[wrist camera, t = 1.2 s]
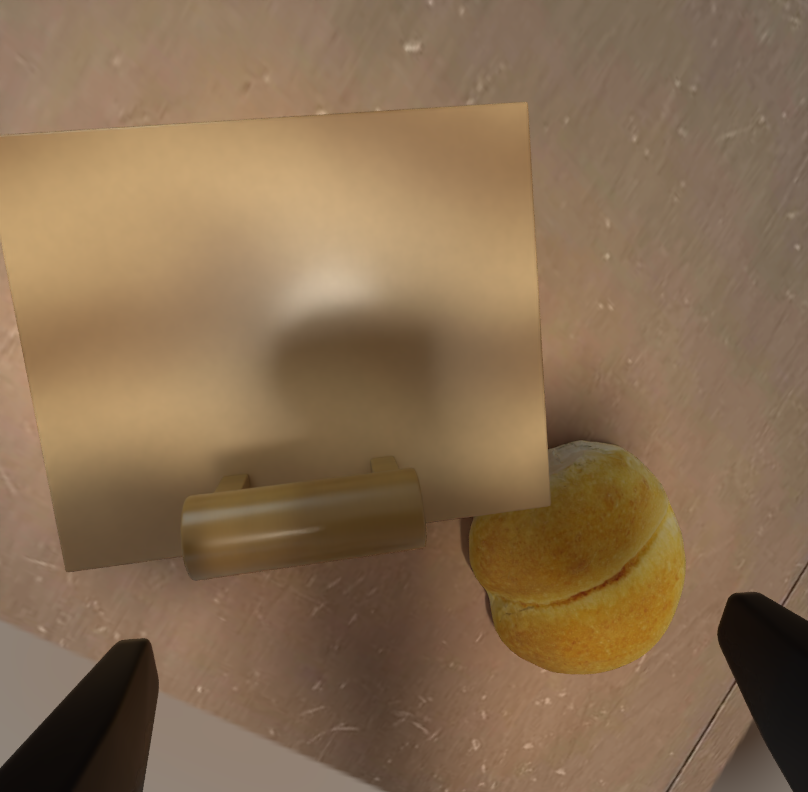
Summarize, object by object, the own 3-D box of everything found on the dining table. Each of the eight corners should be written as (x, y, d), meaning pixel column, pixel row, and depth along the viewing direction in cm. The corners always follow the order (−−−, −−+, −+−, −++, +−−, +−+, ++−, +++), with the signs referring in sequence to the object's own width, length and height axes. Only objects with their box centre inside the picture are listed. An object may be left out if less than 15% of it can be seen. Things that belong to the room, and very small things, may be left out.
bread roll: (514, 676, 26) (547, 743, 22) (439, 490, 24) (460, 526, 20) (689, 598, 27) (751, 650, 23) (627, 409, 25) (683, 430, 21)
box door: (543, 499, 19) (623, 572, 14) (75, 563, 17) (-27, 670, 12) (520, 108, 17) (602, 28, 12) (-7, 142, 15) (-167, 66, 10)
